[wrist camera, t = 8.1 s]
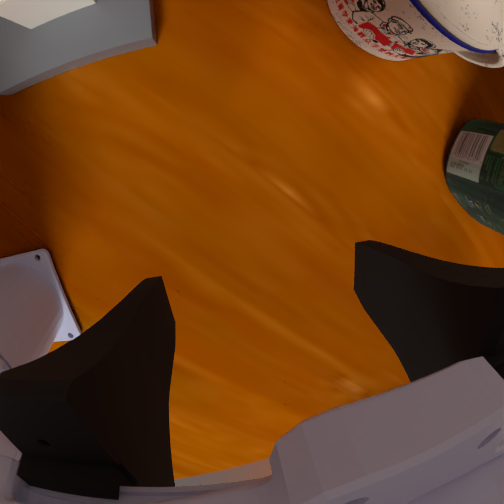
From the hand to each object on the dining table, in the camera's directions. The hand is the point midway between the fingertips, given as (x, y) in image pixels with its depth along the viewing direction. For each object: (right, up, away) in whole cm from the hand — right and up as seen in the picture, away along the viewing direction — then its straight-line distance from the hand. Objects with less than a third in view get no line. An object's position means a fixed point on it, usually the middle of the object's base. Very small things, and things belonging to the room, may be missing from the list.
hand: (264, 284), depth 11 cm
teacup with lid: (+10, +18, +5) cm, 21 cm away
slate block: (-12, +18, +2) cm, 22 cm away
